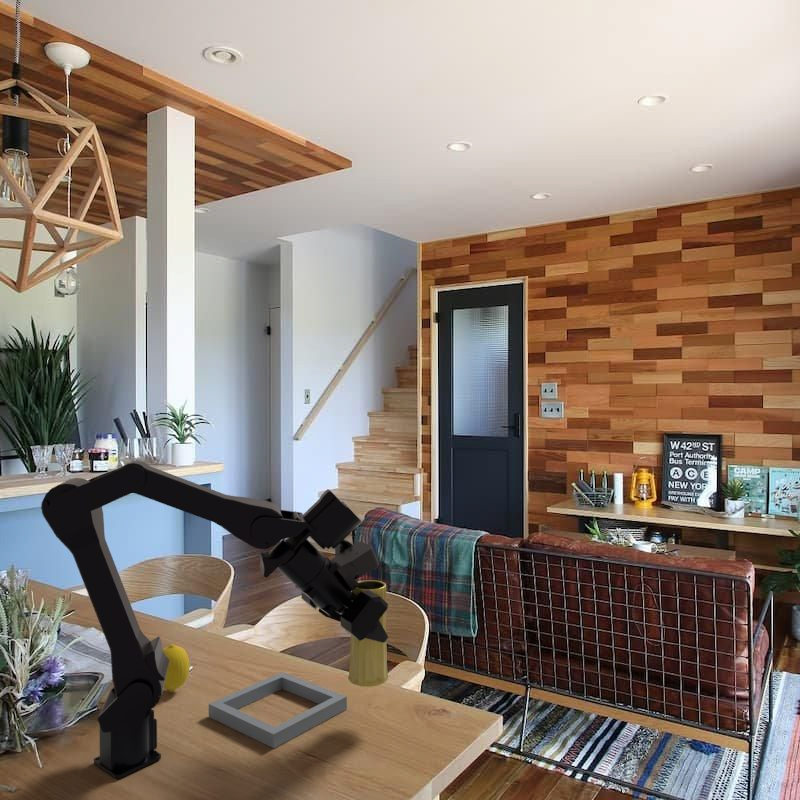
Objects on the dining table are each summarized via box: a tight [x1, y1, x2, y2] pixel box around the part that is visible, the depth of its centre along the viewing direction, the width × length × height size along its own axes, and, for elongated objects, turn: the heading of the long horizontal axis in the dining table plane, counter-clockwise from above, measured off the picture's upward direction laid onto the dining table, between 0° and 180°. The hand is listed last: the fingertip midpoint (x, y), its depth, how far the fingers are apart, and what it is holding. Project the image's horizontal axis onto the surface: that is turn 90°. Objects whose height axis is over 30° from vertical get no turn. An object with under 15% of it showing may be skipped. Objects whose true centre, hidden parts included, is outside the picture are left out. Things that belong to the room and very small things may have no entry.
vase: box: [347, 579, 389, 688], centre depth 103 cm, size 6×6×14 cm
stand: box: [208, 671, 348, 749], centre depth 106 cm, size 15×15×2 cm
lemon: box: [162, 643, 191, 693], centre depth 114 cm, size 6×6×8 cm
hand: (376, 633), depth 104 cm, fingers closed on vase, 5 cm apart
